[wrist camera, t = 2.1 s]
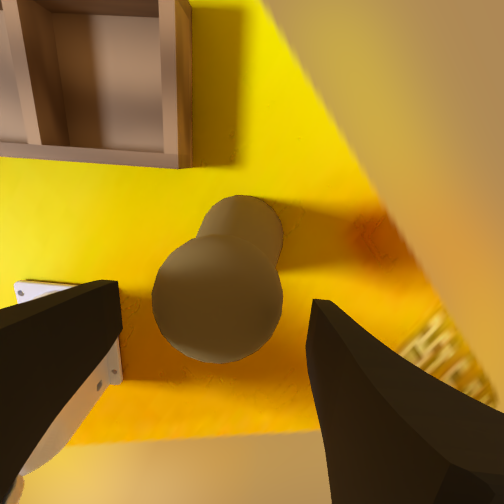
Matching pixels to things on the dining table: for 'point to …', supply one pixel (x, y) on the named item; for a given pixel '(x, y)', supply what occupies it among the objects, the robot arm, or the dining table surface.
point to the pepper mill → (223, 283)
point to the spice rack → (97, 81)
